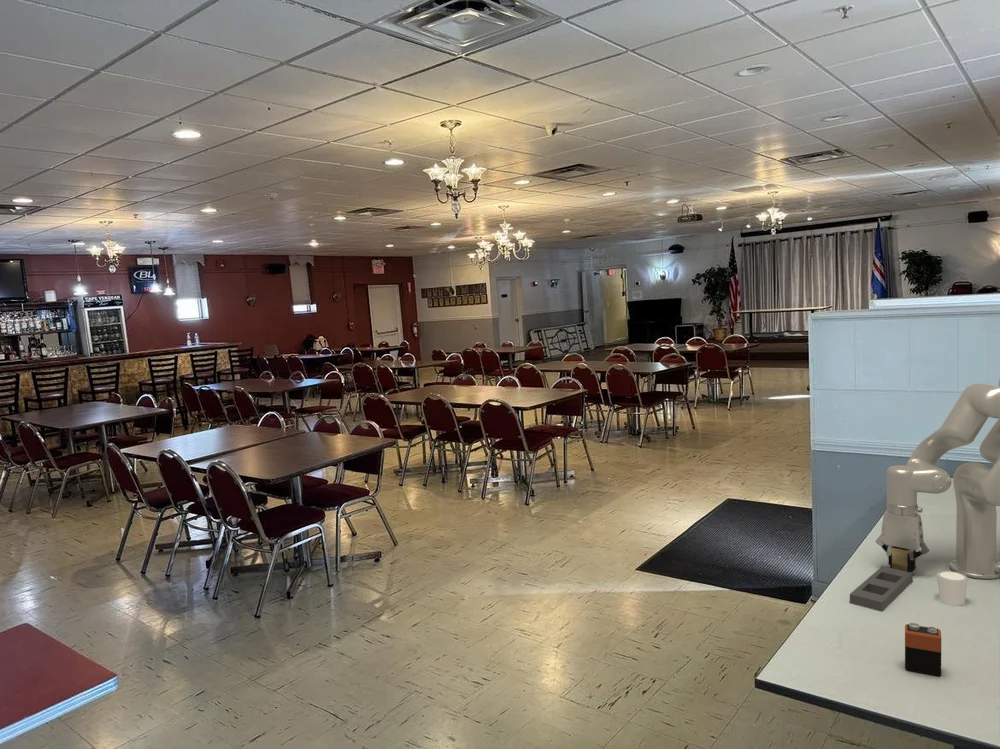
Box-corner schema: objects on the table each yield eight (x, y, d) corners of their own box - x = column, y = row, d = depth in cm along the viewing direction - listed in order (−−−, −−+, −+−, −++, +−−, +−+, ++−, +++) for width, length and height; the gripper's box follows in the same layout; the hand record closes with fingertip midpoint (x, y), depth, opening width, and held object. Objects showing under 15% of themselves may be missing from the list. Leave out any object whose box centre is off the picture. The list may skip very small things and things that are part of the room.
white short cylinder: (963, 596, 186) (963, 571, 186) (971, 607, 180) (971, 581, 179) (933, 594, 189) (933, 569, 188) (940, 605, 182) (940, 580, 182)
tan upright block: (912, 572, 203) (912, 546, 202) (907, 577, 200) (907, 550, 199) (896, 569, 206) (896, 543, 205) (891, 574, 203) (890, 547, 202)
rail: (912, 581, 197) (912, 572, 197) (882, 611, 181) (882, 602, 181) (882, 574, 203) (882, 566, 203) (849, 602, 187) (849, 594, 187)
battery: (905, 661, 158) (905, 619, 157) (940, 667, 154) (940, 624, 153) (904, 670, 154) (904, 627, 153) (941, 677, 151) (941, 633, 149)
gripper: (938, 510, 197) (938, 572, 199) (875, 500, 209) (875, 559, 212) (930, 517, 192) (930, 581, 194) (865, 507, 204) (866, 566, 206)
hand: (901, 569), depth 203 cm, fingers closed on tan upright block, 4 cm apart
